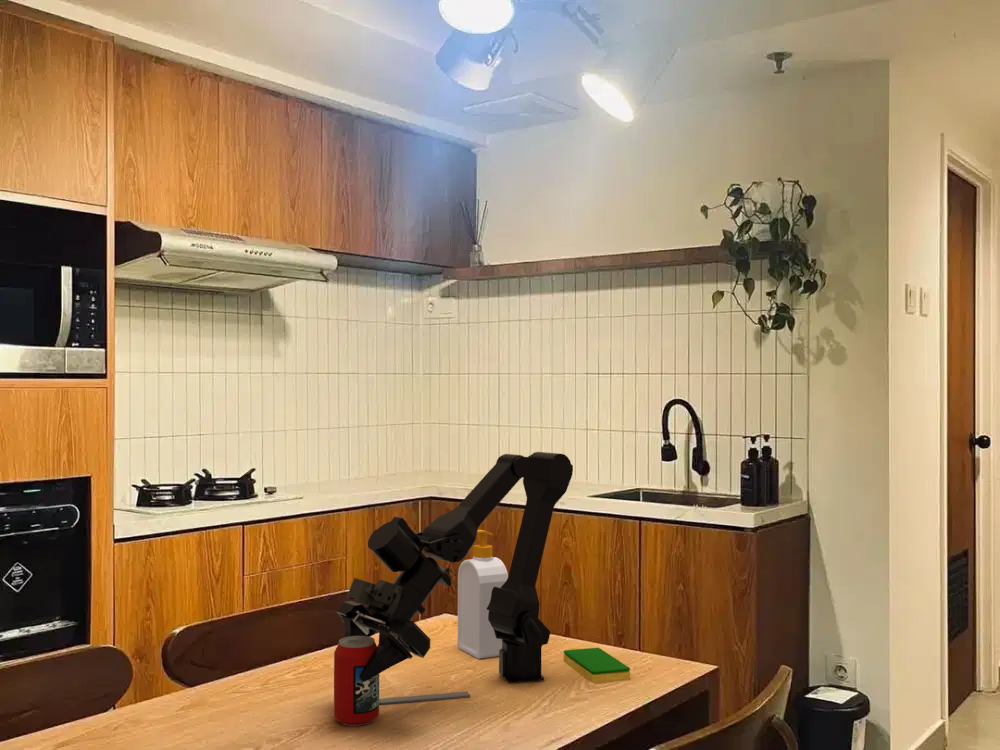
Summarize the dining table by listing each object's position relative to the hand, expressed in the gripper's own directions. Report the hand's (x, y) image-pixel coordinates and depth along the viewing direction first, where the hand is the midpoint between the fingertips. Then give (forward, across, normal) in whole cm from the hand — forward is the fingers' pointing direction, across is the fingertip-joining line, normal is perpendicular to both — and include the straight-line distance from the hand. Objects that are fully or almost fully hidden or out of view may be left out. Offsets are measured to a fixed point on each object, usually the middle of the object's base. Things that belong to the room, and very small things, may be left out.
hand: (348, 674), depth 144 cm
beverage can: (+4, 0, +6) cm, 7 cm away
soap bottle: (-22, -17, +33) cm, 43 cm away
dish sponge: (-28, +5, +39) cm, 49 cm away
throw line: (-4, -2, +14) cm, 15 cm away
